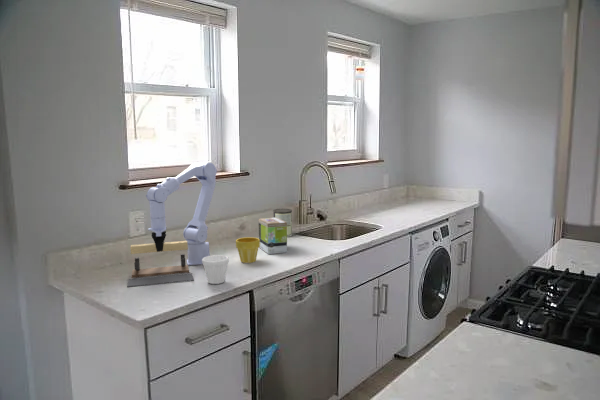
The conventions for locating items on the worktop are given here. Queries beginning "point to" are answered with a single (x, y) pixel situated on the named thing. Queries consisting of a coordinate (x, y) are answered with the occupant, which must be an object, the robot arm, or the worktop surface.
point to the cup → (215, 268)
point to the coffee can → (285, 218)
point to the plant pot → (248, 249)
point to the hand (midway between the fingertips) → (159, 250)
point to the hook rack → (159, 269)
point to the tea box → (273, 235)
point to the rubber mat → (160, 280)
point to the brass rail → (152, 248)
